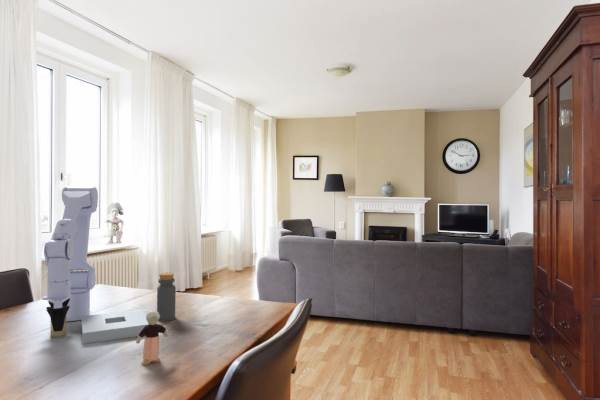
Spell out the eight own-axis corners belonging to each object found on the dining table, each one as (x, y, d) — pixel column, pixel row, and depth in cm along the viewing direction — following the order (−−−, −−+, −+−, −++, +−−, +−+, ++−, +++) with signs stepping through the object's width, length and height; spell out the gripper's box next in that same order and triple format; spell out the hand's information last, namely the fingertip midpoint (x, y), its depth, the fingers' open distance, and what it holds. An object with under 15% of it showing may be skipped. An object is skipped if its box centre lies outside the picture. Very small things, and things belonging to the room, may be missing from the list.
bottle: (169, 321, 133) (170, 275, 133) (153, 320, 134) (153, 274, 134) (178, 316, 139) (178, 272, 139) (162, 315, 140) (163, 271, 140)
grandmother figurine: (141, 368, 97) (142, 315, 97) (133, 363, 99) (134, 312, 99) (170, 358, 103) (171, 308, 103) (162, 354, 105) (163, 305, 105)
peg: (50, 334, 119) (51, 307, 119) (66, 332, 121) (66, 305, 121) (50, 338, 116) (50, 310, 116) (66, 336, 118) (66, 308, 118)
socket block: (81, 325, 128) (81, 316, 128) (142, 318, 136) (142, 309, 136) (82, 344, 112) (82, 333, 112) (151, 334, 121) (151, 323, 121)
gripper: (44, 277, 123) (43, 322, 123) (40, 286, 110) (40, 336, 110) (71, 275, 126) (70, 319, 126) (70, 284, 114) (70, 332, 114)
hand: (58, 327), depth 119 cm, fingers open, 7 cm apart
